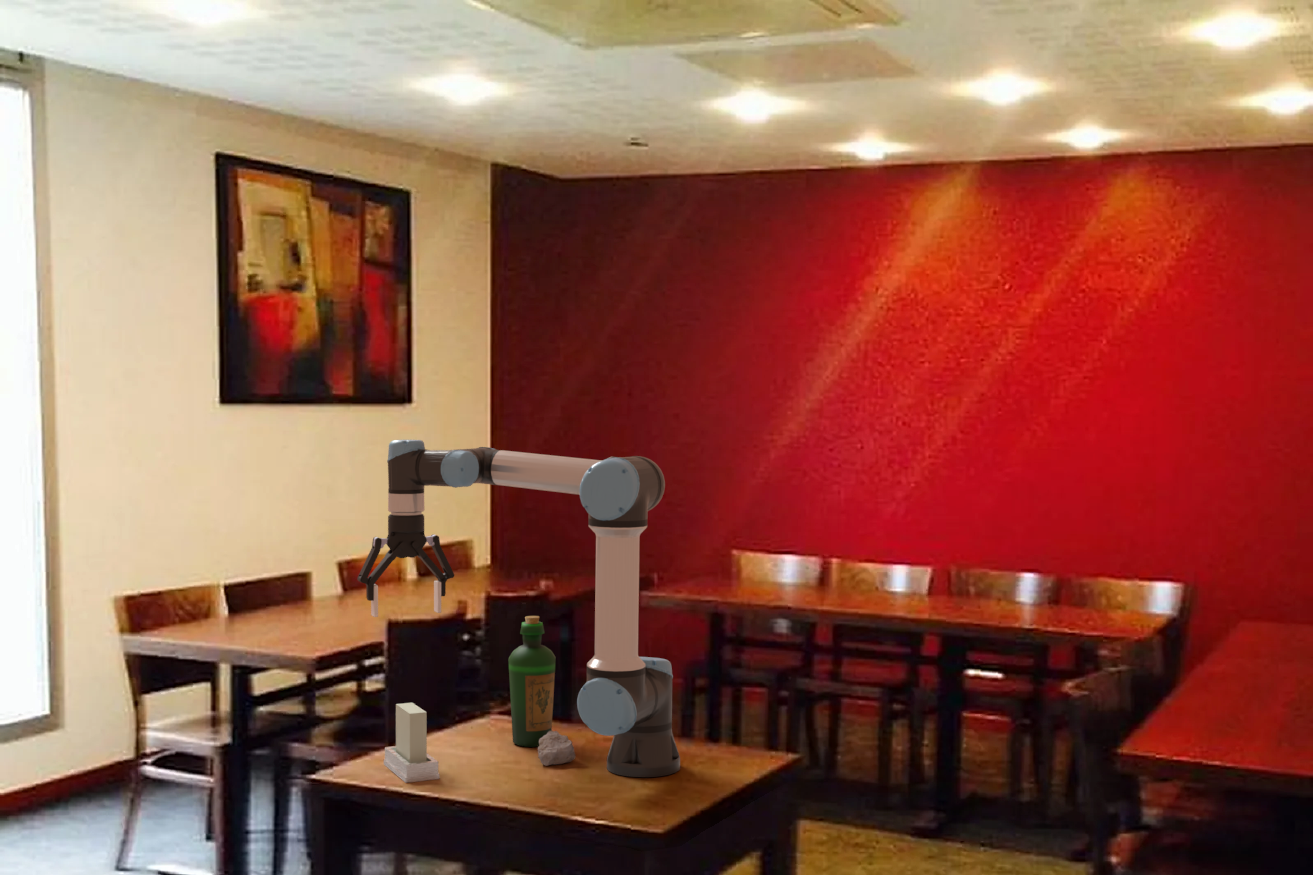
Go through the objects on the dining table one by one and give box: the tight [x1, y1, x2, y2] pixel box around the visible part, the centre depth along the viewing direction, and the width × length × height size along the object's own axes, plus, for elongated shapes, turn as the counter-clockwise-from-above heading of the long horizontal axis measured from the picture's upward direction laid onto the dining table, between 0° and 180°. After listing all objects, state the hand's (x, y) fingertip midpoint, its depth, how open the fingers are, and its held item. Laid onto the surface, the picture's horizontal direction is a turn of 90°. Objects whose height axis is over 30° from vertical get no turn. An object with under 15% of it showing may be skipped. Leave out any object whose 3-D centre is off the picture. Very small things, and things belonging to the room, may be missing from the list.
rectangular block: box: [395, 702, 428, 763], centre depth 303 cm, size 10×4×12 cm, turn 26°
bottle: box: [507, 615, 557, 748], centre depth 327 cm, size 11×11×28 cm
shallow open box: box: [383, 745, 440, 784], centre depth 303 cm, size 16×7×4 cm, turn 26°
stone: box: [537, 730, 576, 767], centre depth 312 cm, size 10×8×6 cm
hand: (406, 614), depth 312 cm, fingers open, 13 cm apart
